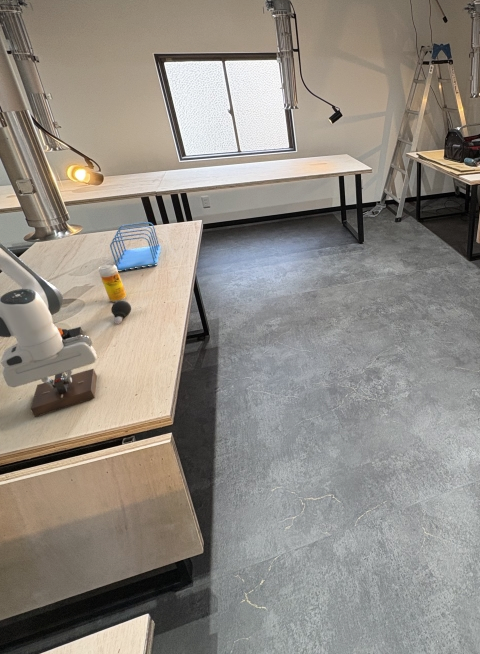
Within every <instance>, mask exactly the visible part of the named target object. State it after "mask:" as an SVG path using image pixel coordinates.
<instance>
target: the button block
mask: <svg viewBox="0 0 480 654" xmlns="http://www.w3.org/2000/svg"><path fill="white" fill-rule="evenodd" d="M61 329H62V331H63V335H61V337H62V339H63V340H64V339H67V338H72V337H76V336H78V335H82V336H83V333H84V331H83V329H82V326H79V327H74V328H70V329H67V328H61Z"/></svg>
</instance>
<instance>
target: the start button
mask: <svg viewBox="0 0 480 654" xmlns="http://www.w3.org/2000/svg"><path fill="white" fill-rule="evenodd" d="M57 329H58V331H59V333H60V335H63V331H62V329H63V328H61V327H60V328H59V327H57Z"/></svg>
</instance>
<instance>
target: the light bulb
mask: <svg viewBox="0 0 480 654" xmlns="http://www.w3.org/2000/svg"><path fill="white" fill-rule="evenodd" d="M110 309H111V310H110V312H111V313H112V315H113V317H114V323H115V324H116V325H120V324H122V321H123V319H125V317H127V316H129V315H130V313H131V312H132V306H131V304H130V303H129V302H128V301H126V300H121V301H117V302H113V304H112V305H111V308H110Z"/></svg>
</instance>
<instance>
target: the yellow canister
mask: <svg viewBox="0 0 480 654" xmlns="http://www.w3.org/2000/svg"><path fill="white" fill-rule="evenodd" d="M98 273H99V275H100V278H101V281H102V284H103V287H104V289H105V291H106V295H107V297H108V300H109V301H111V302H113V303H115V302H117V301H124V300H125V299H126V297H127V293H126V291H125V287H124V284H123V281H122V279H121V276H120V272H118V270H117V266H116V264H115V263H105V264H102V265H100V266H99V267H98Z"/></svg>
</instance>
